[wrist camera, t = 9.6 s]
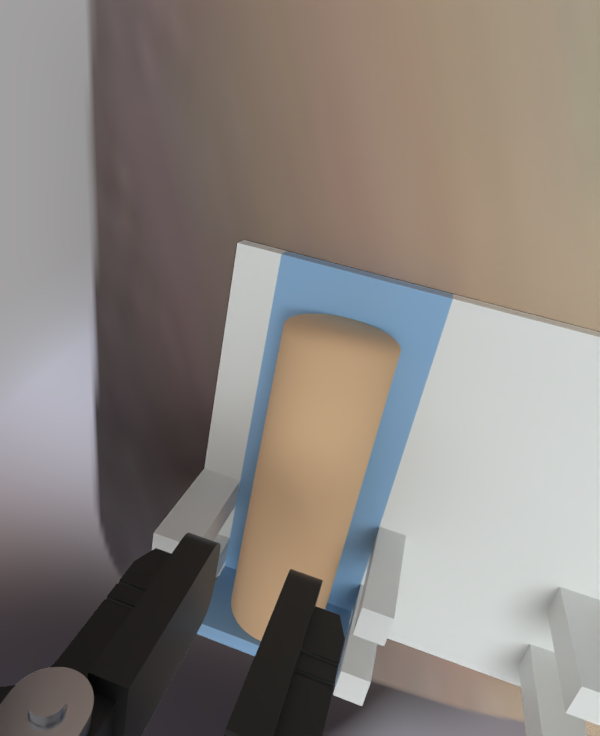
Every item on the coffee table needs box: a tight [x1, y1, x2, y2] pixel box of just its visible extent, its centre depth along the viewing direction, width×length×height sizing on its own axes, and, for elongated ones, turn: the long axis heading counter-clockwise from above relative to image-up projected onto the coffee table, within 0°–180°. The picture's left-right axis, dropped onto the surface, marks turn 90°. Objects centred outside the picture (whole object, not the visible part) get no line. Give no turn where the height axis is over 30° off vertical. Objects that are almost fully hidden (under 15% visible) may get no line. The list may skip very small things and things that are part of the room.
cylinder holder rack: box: [152, 240, 600, 736], centre depth 18 cm, size 14×15×5 cm
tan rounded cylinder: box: [231, 313, 401, 641], centre depth 19 cm, size 11×4×4 cm, turn 169°
